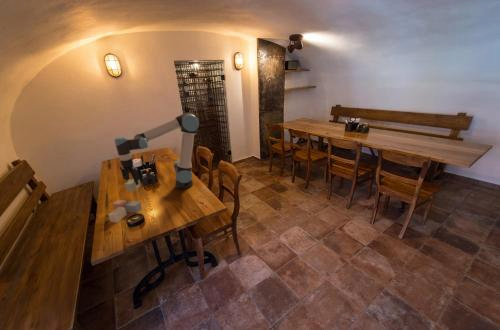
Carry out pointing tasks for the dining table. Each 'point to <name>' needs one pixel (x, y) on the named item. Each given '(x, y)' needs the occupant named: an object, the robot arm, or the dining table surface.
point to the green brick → (131, 185)
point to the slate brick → (133, 207)
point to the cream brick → (117, 214)
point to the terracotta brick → (119, 204)
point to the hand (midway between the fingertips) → (134, 187)
